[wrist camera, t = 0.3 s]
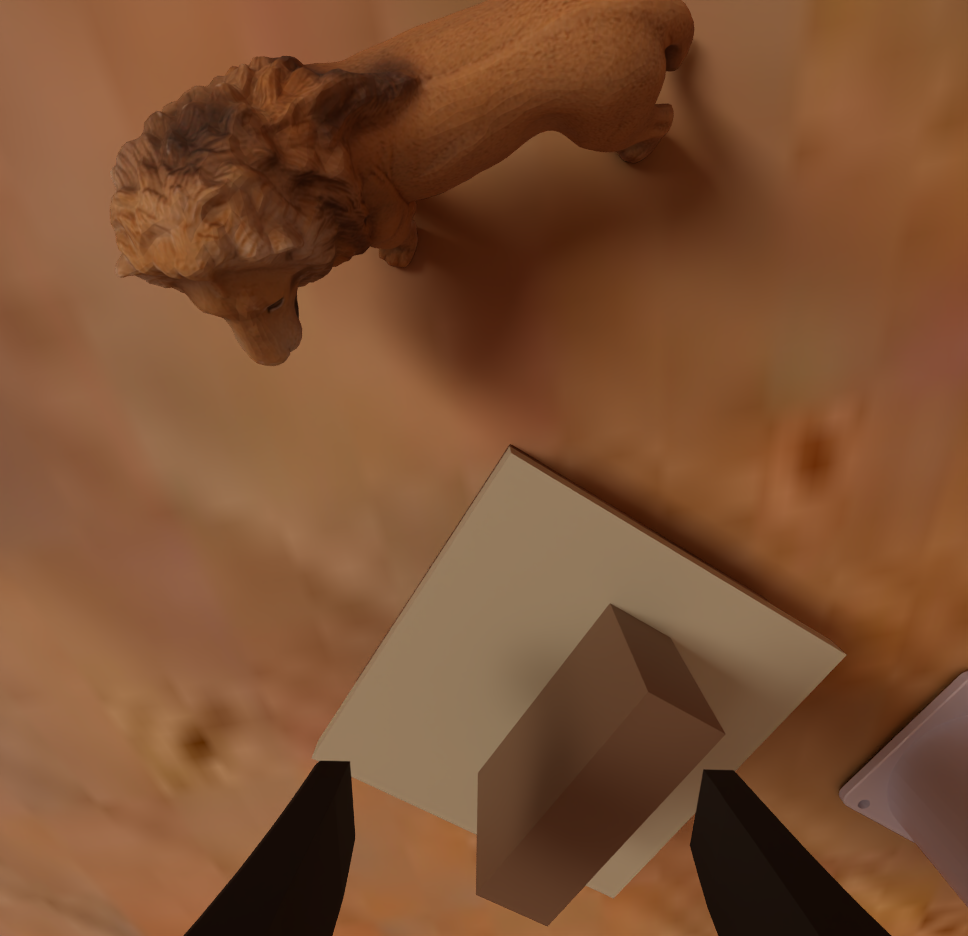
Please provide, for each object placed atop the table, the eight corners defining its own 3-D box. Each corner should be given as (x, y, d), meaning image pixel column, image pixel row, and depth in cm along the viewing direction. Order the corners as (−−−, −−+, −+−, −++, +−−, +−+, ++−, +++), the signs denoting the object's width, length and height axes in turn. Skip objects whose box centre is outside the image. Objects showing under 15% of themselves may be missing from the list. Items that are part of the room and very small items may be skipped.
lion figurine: (324, 363, 18) (176, 410, 9) (228, 218, 17) (-44, 119, 8) (715, 119, 16) (989, -110, 7) (641, -69, 15) (868, -619, 6)
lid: (830, 639, 18) (953, 755, 13) (608, 877, 21) (643, 1036, 16) (509, 446, 16) (519, 501, 11) (318, 740, 19) (265, 877, 14)
